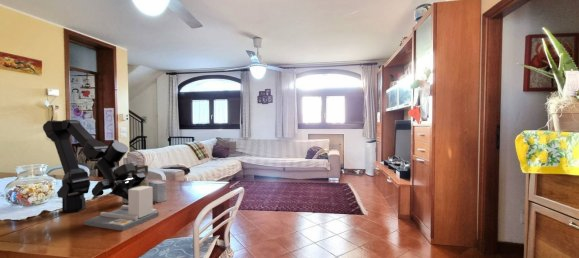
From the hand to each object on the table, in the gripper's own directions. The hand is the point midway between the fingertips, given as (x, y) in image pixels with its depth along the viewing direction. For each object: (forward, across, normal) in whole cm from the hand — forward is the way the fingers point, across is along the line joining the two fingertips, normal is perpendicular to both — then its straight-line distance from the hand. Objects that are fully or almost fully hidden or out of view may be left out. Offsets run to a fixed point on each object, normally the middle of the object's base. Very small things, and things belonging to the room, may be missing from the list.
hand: (132, 200), depth 97 cm
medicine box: (-2, +22, +12) cm, 25 cm away
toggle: (+6, 0, +1) cm, 6 cm away
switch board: (+4, -2, +6) cm, 7 cm away
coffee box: (-9, +19, +19) cm, 28 cm away
